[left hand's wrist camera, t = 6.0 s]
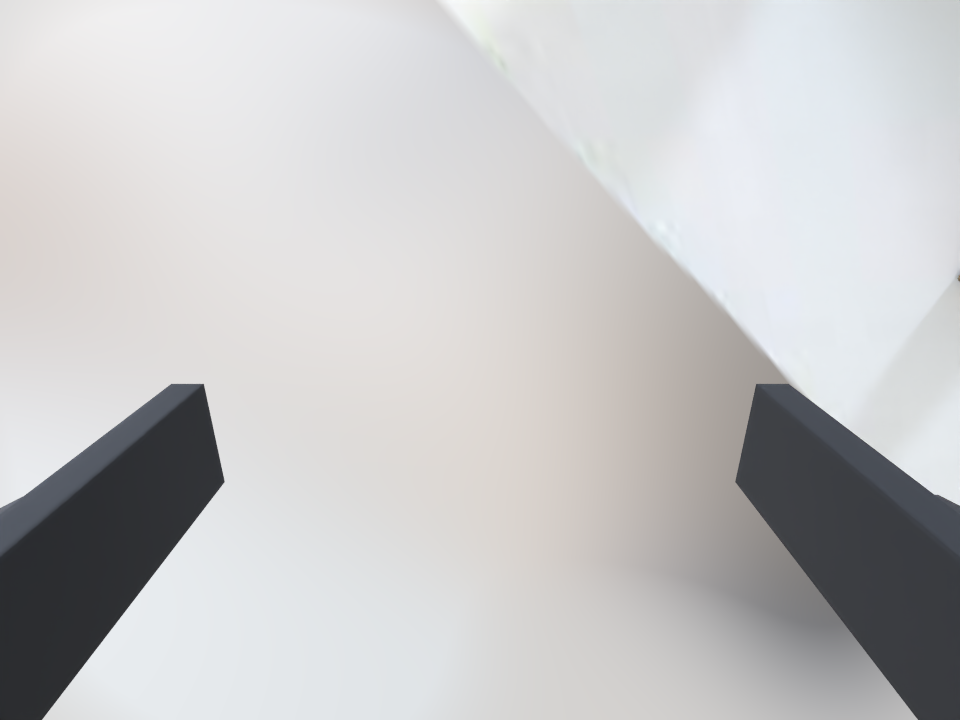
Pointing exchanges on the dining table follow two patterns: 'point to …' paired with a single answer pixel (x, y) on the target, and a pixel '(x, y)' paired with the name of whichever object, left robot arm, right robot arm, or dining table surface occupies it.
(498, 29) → the dining table surface
